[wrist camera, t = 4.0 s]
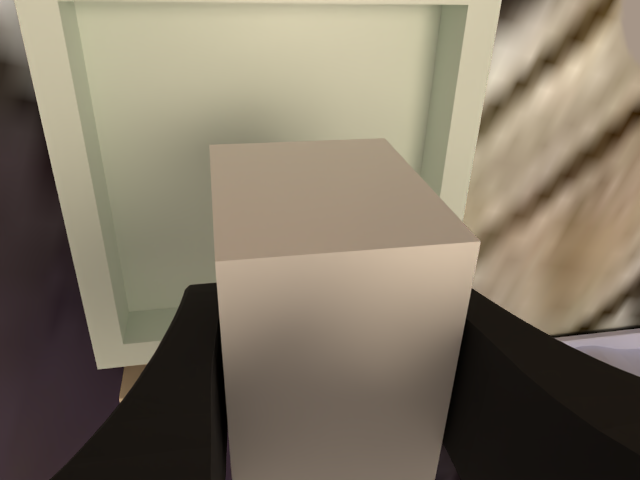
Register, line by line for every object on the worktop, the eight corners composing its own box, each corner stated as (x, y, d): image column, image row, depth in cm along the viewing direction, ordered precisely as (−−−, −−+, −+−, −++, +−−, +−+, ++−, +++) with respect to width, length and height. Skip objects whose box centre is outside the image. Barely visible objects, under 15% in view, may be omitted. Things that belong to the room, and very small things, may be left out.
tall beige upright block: (384, 138, 13) (480, 241, 8) (363, 386, 16) (422, 546, 12) (209, 144, 12) (214, 261, 8) (228, 402, 16) (239, 578, 11)
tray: (469, -38, 17) (507, -34, 15) (421, 296, 24) (443, 332, 22) (31, -49, 15) (3, -46, 13) (107, 325, 21) (97, 369, 19)
